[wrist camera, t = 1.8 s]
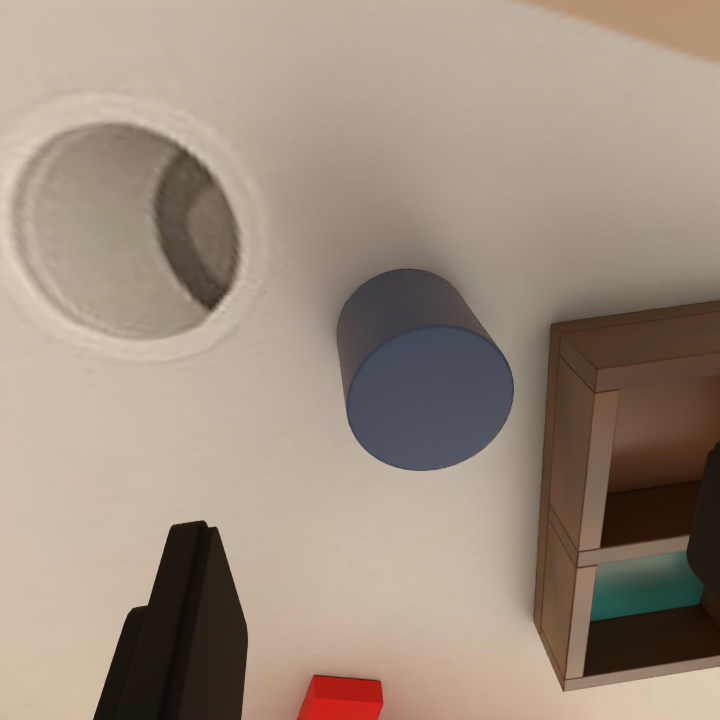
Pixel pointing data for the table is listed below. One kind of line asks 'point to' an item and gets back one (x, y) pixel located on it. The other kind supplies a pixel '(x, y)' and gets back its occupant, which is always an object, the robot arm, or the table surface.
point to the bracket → (342, 699)
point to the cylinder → (420, 372)
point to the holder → (627, 496)
